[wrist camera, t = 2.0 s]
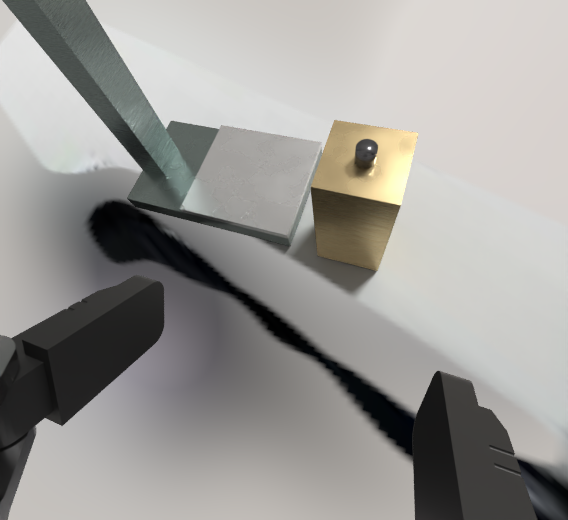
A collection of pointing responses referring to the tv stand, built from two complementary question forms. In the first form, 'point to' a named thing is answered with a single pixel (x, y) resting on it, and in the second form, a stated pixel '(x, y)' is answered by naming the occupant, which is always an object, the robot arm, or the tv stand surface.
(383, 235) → the block
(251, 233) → the arbor press
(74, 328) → the robot arm
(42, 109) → the tv stand surface
